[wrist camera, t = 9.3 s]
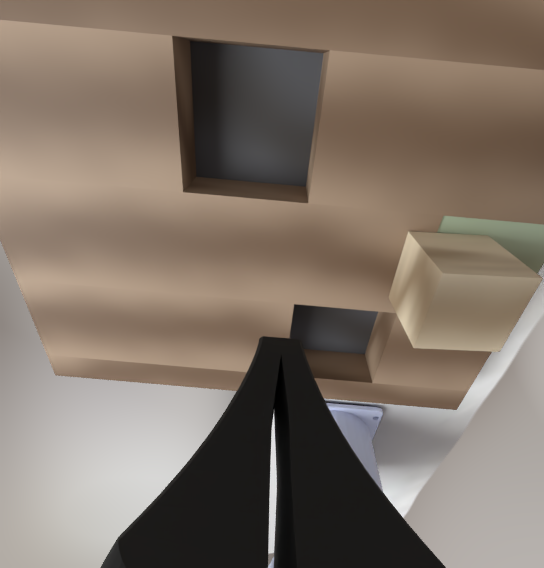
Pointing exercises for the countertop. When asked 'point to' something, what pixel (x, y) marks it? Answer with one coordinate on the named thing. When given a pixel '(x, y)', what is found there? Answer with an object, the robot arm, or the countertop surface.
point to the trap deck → (261, 178)
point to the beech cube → (459, 291)
